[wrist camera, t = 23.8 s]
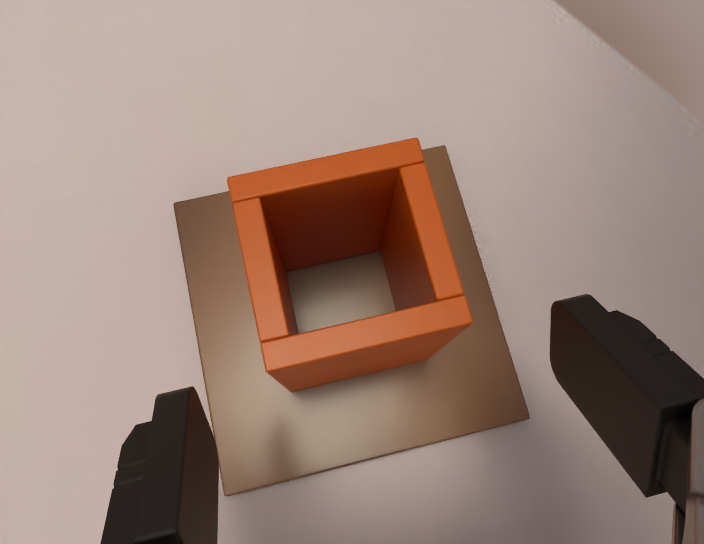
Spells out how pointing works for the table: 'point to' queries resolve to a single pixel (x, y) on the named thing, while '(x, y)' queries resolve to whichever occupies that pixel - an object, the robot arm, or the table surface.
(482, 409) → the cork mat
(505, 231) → the table surface
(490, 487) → the table surface
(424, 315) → the orange square tube
